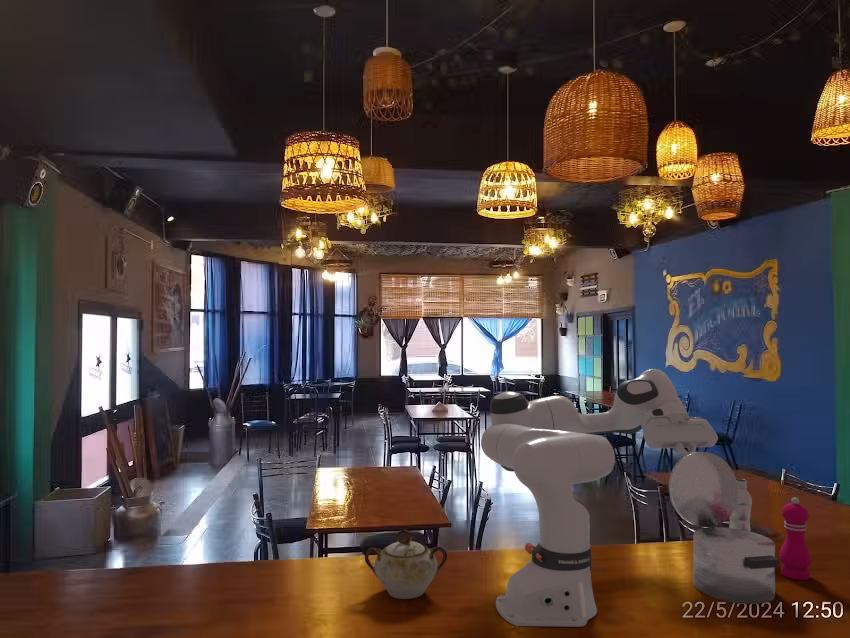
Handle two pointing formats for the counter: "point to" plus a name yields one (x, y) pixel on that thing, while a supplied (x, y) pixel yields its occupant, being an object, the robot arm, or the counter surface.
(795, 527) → the pepper mill
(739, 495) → the silver metal bottle
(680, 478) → the cooker lid
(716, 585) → the cooker pot
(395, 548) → the sugar bowl
